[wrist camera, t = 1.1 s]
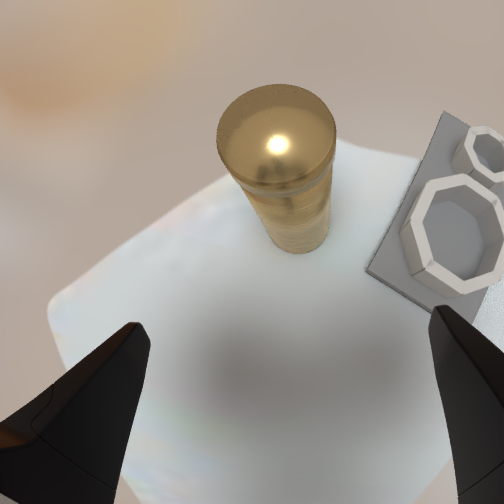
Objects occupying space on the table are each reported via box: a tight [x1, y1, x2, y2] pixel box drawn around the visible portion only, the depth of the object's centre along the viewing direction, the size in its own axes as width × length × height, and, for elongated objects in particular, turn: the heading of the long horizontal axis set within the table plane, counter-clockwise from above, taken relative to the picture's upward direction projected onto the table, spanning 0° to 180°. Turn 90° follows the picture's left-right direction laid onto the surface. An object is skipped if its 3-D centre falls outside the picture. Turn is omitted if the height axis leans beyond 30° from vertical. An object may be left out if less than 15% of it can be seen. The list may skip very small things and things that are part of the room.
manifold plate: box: [366, 111, 504, 325], centre depth 19 cm, size 16×9×4 cm, turn 146°
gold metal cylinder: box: [216, 84, 336, 254], centre depth 17 cm, size 5×5×12 cm
